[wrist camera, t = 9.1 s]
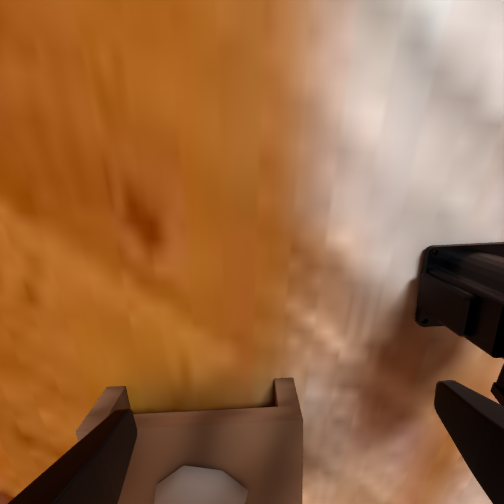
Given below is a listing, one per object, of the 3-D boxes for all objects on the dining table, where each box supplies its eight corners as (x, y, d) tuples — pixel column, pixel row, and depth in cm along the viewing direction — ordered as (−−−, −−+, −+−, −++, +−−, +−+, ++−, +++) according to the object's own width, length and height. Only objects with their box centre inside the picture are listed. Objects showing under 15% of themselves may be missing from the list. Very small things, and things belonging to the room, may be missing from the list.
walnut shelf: (293, 377, 21) (303, 420, 18) (293, 493, 25) (301, 549, 21) (106, 387, 21) (75, 431, 18) (134, 501, 25) (113, 559, 21)
